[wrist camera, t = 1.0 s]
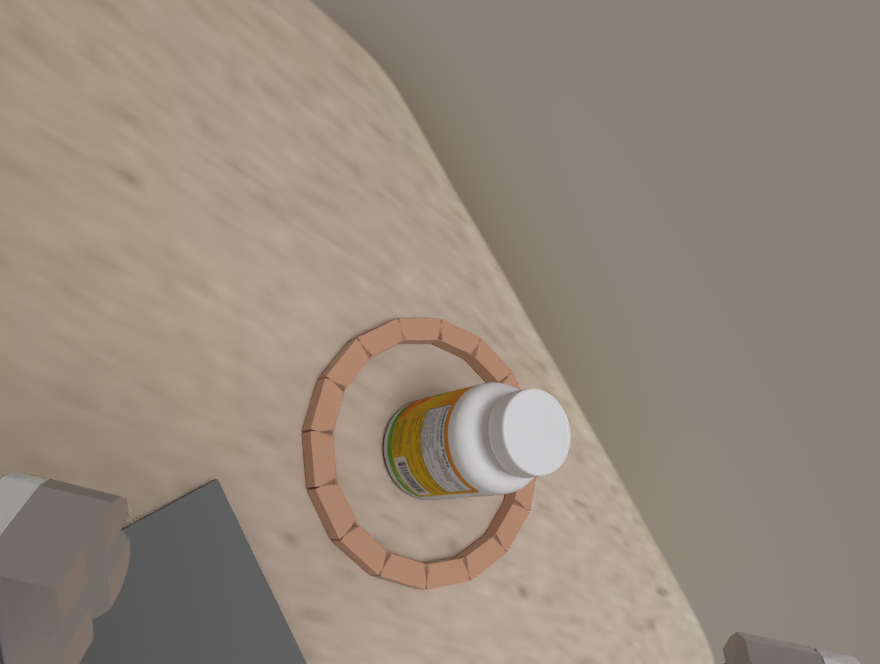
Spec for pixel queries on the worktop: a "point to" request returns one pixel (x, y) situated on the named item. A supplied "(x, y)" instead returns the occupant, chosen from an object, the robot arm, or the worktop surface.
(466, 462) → the supplement bottle
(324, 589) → the worktop surface
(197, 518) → the mat
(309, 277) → the worktop surface
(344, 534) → the segmented terracotta ring
